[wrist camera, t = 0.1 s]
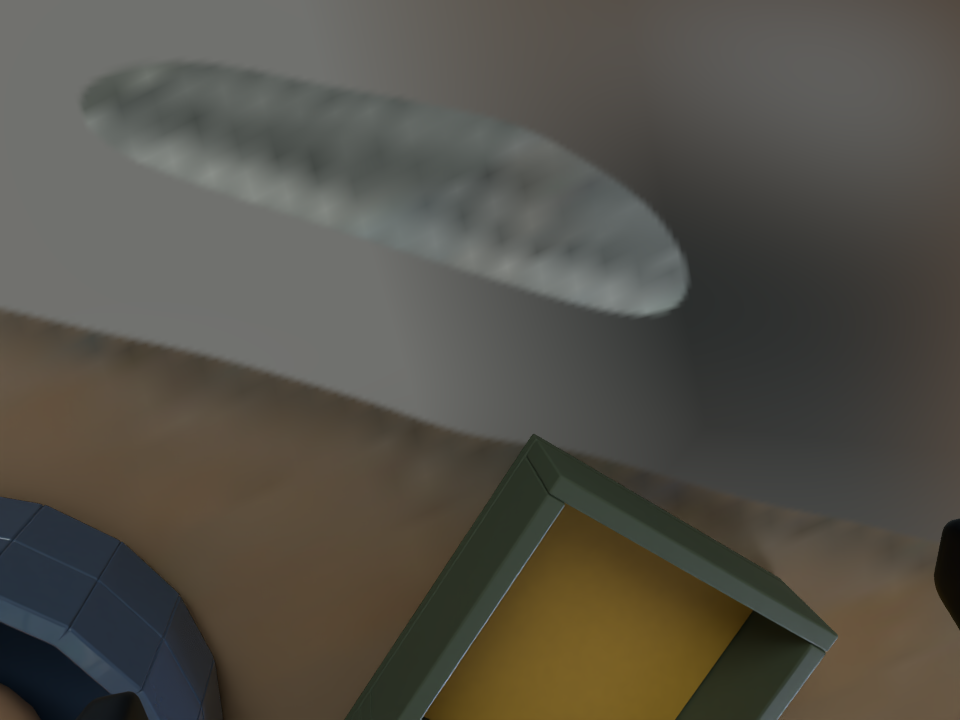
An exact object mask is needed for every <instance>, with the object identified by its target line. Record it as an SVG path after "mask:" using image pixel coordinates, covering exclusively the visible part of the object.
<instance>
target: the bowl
mask: <svg viewBox="0 0 960 720" xmlns="http://www.w3.org/2000/svg"><path fill="white" fill-rule="evenodd" d="M0 683H1V684H3V685H5V686H7V687H9V688H10V689H12V690H13V691H14V692H15V693H16V694H18V695H19V696H20V697H21V698H22V699H24V700H25V701H26V702H27V703H28V704H30V705H31V706H32V707H33V708H34V710H35V711H36V713H37V714H38V716H39V717H40V719H41V720H76V718H77V717H78V716H79V715H80V713H81V712H82V711H83V710H84V708H85V707H86V706H87V705H88V704H89V703H90V702H91V701H92V700H94V699H96V698H98V697H103V696H108V695H112V694H117V693H122V692H127V691H129V692H134V693H135V694H136V695H137V696H138V697H139V698H140V700H141V703H142V705H143V707H144V710H145V712H146V714H147V717H148V719H149V720H223V715H222V708H221V701H220V694H219V687H218V680H217V673H216V666H215V661H214V659H213V655H212V654H211V652H210V650H209V648H208V646H207V644H206V642H205V641H204V639H203V637H202V635H201V633H200V631H199V630H198V628H197V626H196V624H195V622H194V620H193V619H192V617H191V615H190V613H189V611H188V609H187V608H186V606H185V604H184V602H183V600H182V598H181V597H180V596H179V593H178V592H176V591H175V590H174V589H173V588H172V587H171V586H170V585H169V584H168V583H167V582H166V581H165V580H163V579H162V578H161V577H160V576H159V575H158V574H157V573H156V572H155V571H154V570H153V569H151V568H150V567H149V566H148V565H147V564H146V563H145V562H144V561H143V560H142V559H141V558H140V557H138V556H137V555H136V554H135V553H134V552H133V551H132V550H131V549H130V548H129V547H128V546H127V545H125V544H124V543H123V542H120V541H119V540H118V539H116V538H113V537H111V536H109V535H107V534H105V533H103V532H101V531H99V530H97V529H95V528H93V527H91V526H89V525H86V524H84V523H82V522H80V521H78V520H76V519H74V518H72V517H70V516H68V515H66V514H64V513H62V512H59V511H57V510H55V509H53V508H51V507H49V506H47V505H44V506H43V505H42V504H38V503H33V502H27V501H21V500H16V499H10V498H4V497H0Z"/></svg>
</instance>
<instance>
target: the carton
mask: <svg viewBox="0 0 960 720" xmlns="http://www.w3.org/2000/svg"><path fill="white" fill-rule="evenodd" d="M837 638H838V635H837V634H836V633H835V632H834V631H833V630H832V629H831V628H830V627H829V626H828V625H827V624H826V623H825V622H824V621H823V620H822V619H821V618H820V617H819V616H818V615H817V614H816V613H815V612H814V611H813V610H812V609H811V608H810V607H809V606H808V605H806V604H805V603H804V602H803V601H802V600H801V599H800V598H799V597H798V596H797V595H796V594H795V593H794V592H793V591H792V590H791V589H790V588H789V587H788V586H787V585H786V584H785V583H784V582H783V581H782V580H781V579H780V578H778V577H777V576H775V575H773V574H772V573H770V572H768V571H766V570H765V569H763V568H761V567H760V566H758V565H756V564H755V563H753V562H751V561H749V560H748V559H746V558H744V557H743V556H741V555H739V554H738V553H736V552H734V551H732V550H731V549H729V548H727V547H726V546H724V545H722V544H721V543H719V542H717V541H715V540H714V539H712V538H710V537H709V536H707V535H705V534H704V533H702V532H700V531H698V530H697V529H695V528H693V527H692V526H690V525H688V524H687V523H685V522H683V521H681V520H680V519H678V518H676V517H675V516H673V515H671V514H670V513H668V512H666V511H664V510H663V509H661V508H659V507H658V506H656V505H654V504H653V503H651V502H649V501H647V500H646V499H644V498H642V497H641V496H639V495H637V494H636V493H634V492H632V491H630V490H629V489H627V488H625V487H624V486H622V485H620V484H619V483H617V482H615V481H613V480H612V479H610V478H608V477H607V476H605V475H603V474H602V473H600V472H598V471H596V470H595V469H593V468H591V467H590V466H588V465H586V464H585V463H583V462H581V461H579V460H578V459H576V458H574V457H573V456H571V455H569V454H568V453H566V452H564V451H562V450H561V449H559V448H557V447H556V446H554V445H552V444H551V443H549V442H547V441H545V440H544V439H542V438H540V437H539V436H537V435H535V434H533V435H532V436H531V437H530V439H529V440H528V442H527V443H526V445H525V446H524V448H523V449H522V451H521V452H520V454H519V456H518V457H517V459H516V460H515V462H514V463H513V465H512V466H511V468H510V469H509V471H508V472H507V474H506V475H505V477H504V478H503V480H502V481H501V483H500V484H499V486H498V487H497V489H496V490H495V492H494V493H493V495H492V497H491V498H490V500H489V501H488V503H487V504H486V506H485V507H484V509H483V510H482V512H481V513H480V515H479V516H478V518H477V519H476V521H475V522H474V524H473V525H472V527H471V528H470V530H469V531H468V533H467V534H466V536H465V538H464V539H463V541H462V542H461V544H460V545H459V547H458V548H457V550H456V551H455V553H454V554H453V556H452V557H451V559H450V560H449V562H448V563H447V565H446V566H445V568H444V569H443V571H442V572H441V574H440V575H439V577H438V578H437V580H436V582H435V583H434V585H433V586H432V588H431V589H430V591H429V592H428V594H427V595H426V597H425V598H424V600H423V601H422V603H421V604H420V606H419V607H418V609H417V610H416V612H415V613H414V615H413V616H412V618H411V619H410V621H409V623H408V624H407V626H406V627H405V629H404V630H403V632H402V633H401V635H400V636H399V638H398V639H397V641H396V642H395V644H394V645H393V647H392V648H391V650H390V651H389V653H388V654H387V656H386V657H385V659H384V660H383V662H382V664H381V665H380V667H379V668H378V670H377V671H376V673H375V674H374V676H373V677H372V679H371V680H370V682H369V683H368V685H367V686H366V688H365V689H364V691H363V692H362V694H361V695H360V697H359V698H358V700H357V701H356V703H355V704H354V706H353V708H352V709H351V711H350V712H349V714H348V715H347V717H346V718H345V720H778V718H779V717H780V716H781V714H782V713H783V711H784V710H785V709H786V707H787V706H788V705H789V703H790V702H791V700H792V699H793V698H794V696H795V695H796V694H797V692H798V691H799V690H800V688H801V687H802V685H803V684H804V683H805V681H806V680H807V679H808V677H809V676H810V675H811V673H812V672H813V670H814V669H815V668H816V666H817V665H818V664H819V662H820V661H821V660H822V658H823V657H824V655H825V651H828V650H829V649H830V647H831V646H832V644H833V643H834V642H835V640H836V639H837Z"/></svg>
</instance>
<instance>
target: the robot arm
mask: <svg viewBox="0 0 960 720" xmlns="http://www.w3.org/2000/svg"><path fill="white" fill-rule="evenodd" d="M934 581H935V586H936V589H937V592H938V594H939V596H940V598H941V600H942V602H943V603H944V605H945V607H946V608H947V610H948V612H949V613H950V615H951V617H952V618H953V620H954V621H955V623H956V625H957V626H958V628H959V630H960V519H956V520H952V521H950V522H948V523H947V524H946V526H945V527H944V529H943V532H942V537H941V542H940V547H939V552H938V557H937V562H936V567H935V572H934ZM76 720H149V719H148V717H147V714H146V712H145V710H144V707H143V705H142V703H141V700H140V698H139V697H138V696H137V695H136V694H135V693H134V692H129V691H127V692H122V693H117V694H112V695H108V696H103V697H98V698H96V699H94V700H92V701H91V702H90V703H89V704H88V705H87V706H86V707H85V708H84V710H83V711H82V712H81V713H80V715H79V716H78V717H77V718H76Z"/></svg>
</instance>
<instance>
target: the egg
mask: <svg viewBox="0 0 960 720" xmlns="http://www.w3.org/2000/svg"><path fill="white" fill-rule="evenodd" d="M0 720H41V719H40V717H39V716H38V714H37V713H36V711H35V710H34V708H33V707H32V706H31V705H30V704H28V703H27V702H26V701H25V700H24V699H22V698H21V697H20V696H19V695H18V694H16V693H15V692H14V691H13V690H12V689H10V688H9V687H7V686H5V685H3V684H1V683H0Z"/></svg>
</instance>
